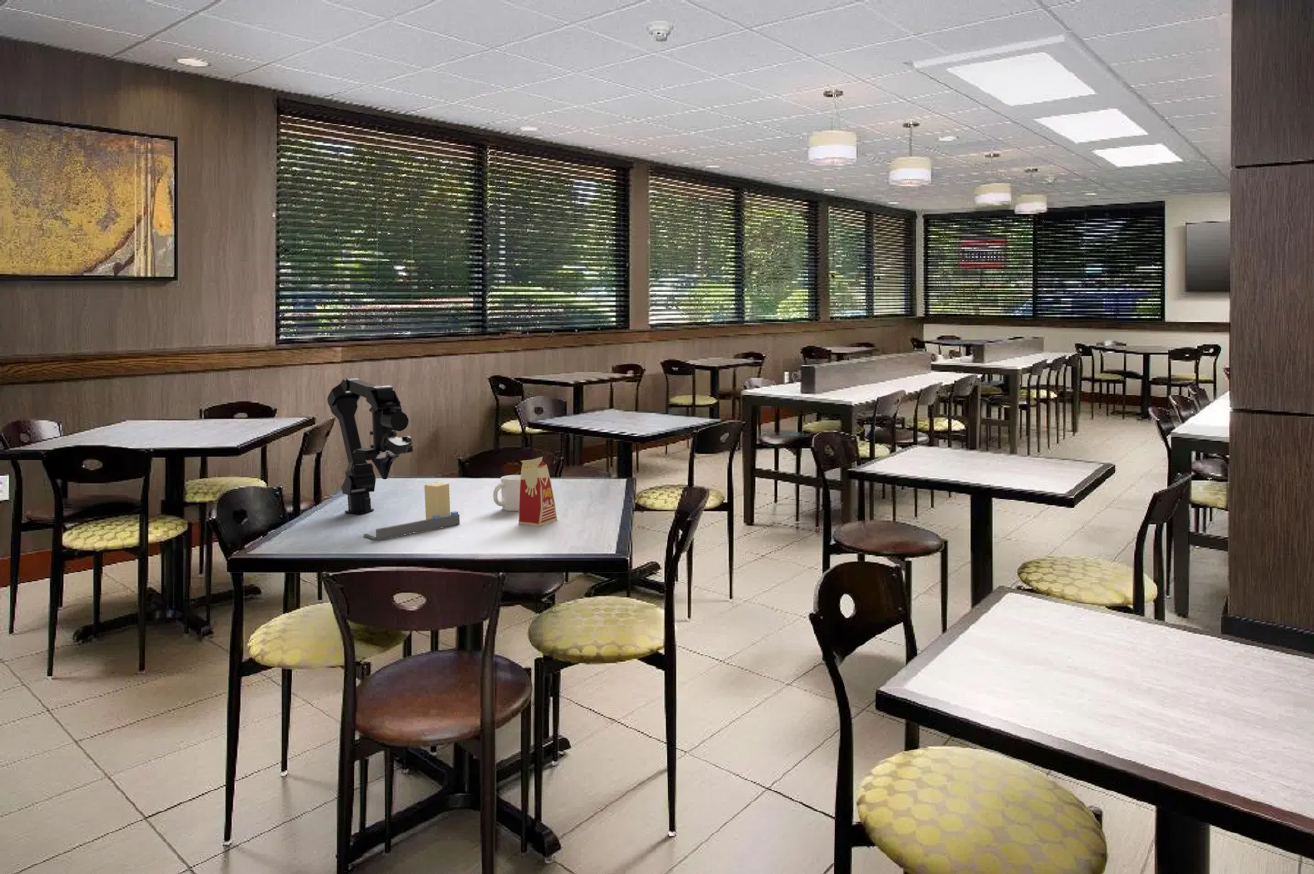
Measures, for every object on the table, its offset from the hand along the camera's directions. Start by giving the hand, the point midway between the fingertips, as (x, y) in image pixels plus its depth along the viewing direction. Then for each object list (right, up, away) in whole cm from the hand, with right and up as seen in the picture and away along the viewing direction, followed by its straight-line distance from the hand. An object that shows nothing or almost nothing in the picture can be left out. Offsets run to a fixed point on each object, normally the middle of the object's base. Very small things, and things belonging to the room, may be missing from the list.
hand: (384, 479), depth 265 cm
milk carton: (+46, -13, -1) cm, 48 cm away
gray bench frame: (+12, -14, -10) cm, 21 cm away
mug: (+35, -11, +16) cm, 40 cm away
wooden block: (+17, -13, -3) cm, 22 cm away
